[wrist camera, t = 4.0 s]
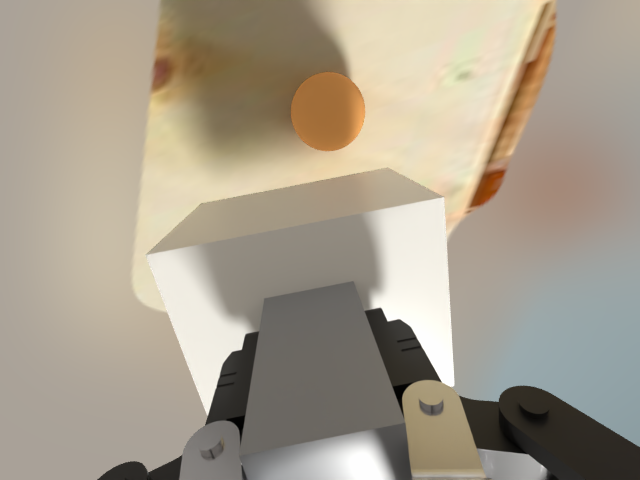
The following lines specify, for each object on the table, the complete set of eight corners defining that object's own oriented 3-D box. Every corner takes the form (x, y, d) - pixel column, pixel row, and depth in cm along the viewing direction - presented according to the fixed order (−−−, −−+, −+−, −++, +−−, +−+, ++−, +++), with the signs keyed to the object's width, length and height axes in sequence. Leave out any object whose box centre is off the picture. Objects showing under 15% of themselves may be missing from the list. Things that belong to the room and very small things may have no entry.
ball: (284, 84, 25) (282, 74, 20) (352, 71, 25) (366, 58, 20) (298, 154, 26) (299, 160, 22) (362, 141, 26) (377, 145, 22)
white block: (201, 203, 18) (-4, 392, 6) (387, 167, 18) (592, 275, 6) (240, 330, 21) (160, 646, 8) (402, 298, 21) (561, 564, 8)
